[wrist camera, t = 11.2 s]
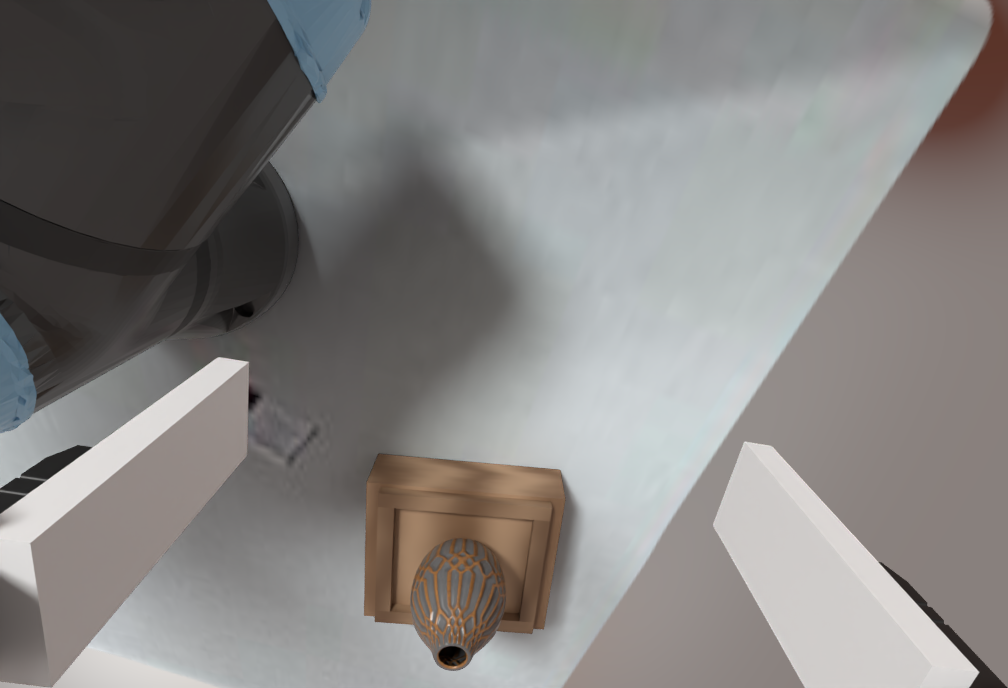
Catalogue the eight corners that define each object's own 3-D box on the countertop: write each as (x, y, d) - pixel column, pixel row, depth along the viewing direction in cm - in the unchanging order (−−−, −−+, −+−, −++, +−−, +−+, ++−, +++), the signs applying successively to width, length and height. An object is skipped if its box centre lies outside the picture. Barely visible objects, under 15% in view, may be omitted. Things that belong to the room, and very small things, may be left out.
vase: (523, 550, 42) (528, 647, 34) (473, 606, 44) (467, 711, 36) (449, 508, 41) (436, 599, 32) (402, 567, 42) (377, 667, 34)
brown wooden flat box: (375, 579, 48) (361, 623, 43) (378, 453, 43) (363, 488, 39) (540, 592, 48) (544, 637, 44) (560, 469, 44) (566, 505, 40)
